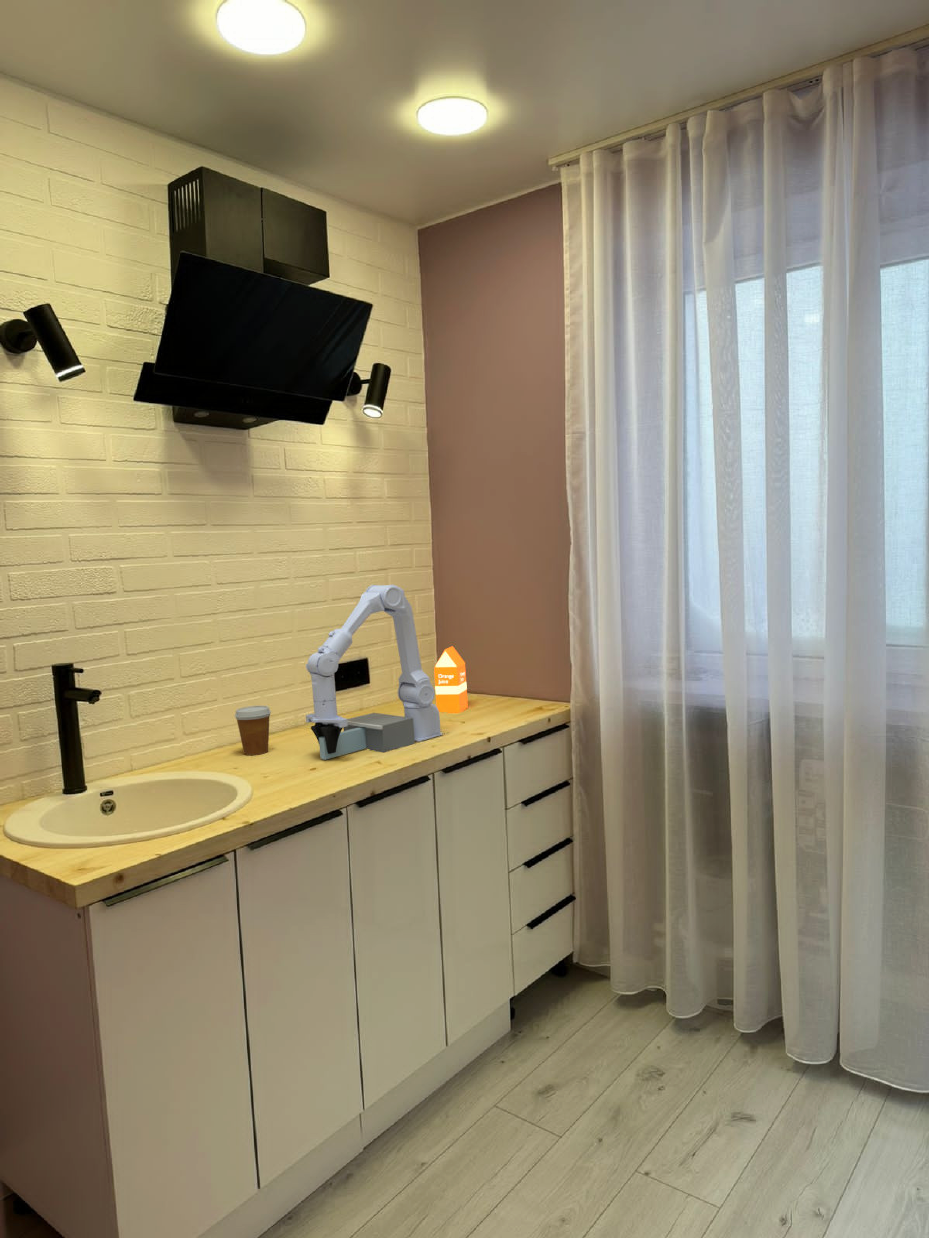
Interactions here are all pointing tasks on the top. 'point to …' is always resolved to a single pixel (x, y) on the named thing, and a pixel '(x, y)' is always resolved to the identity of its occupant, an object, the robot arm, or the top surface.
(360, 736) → the light blue rectangular block
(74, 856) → the top surface
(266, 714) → the disposable coffee cup
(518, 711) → the top surface
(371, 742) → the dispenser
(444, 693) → the orange juice
